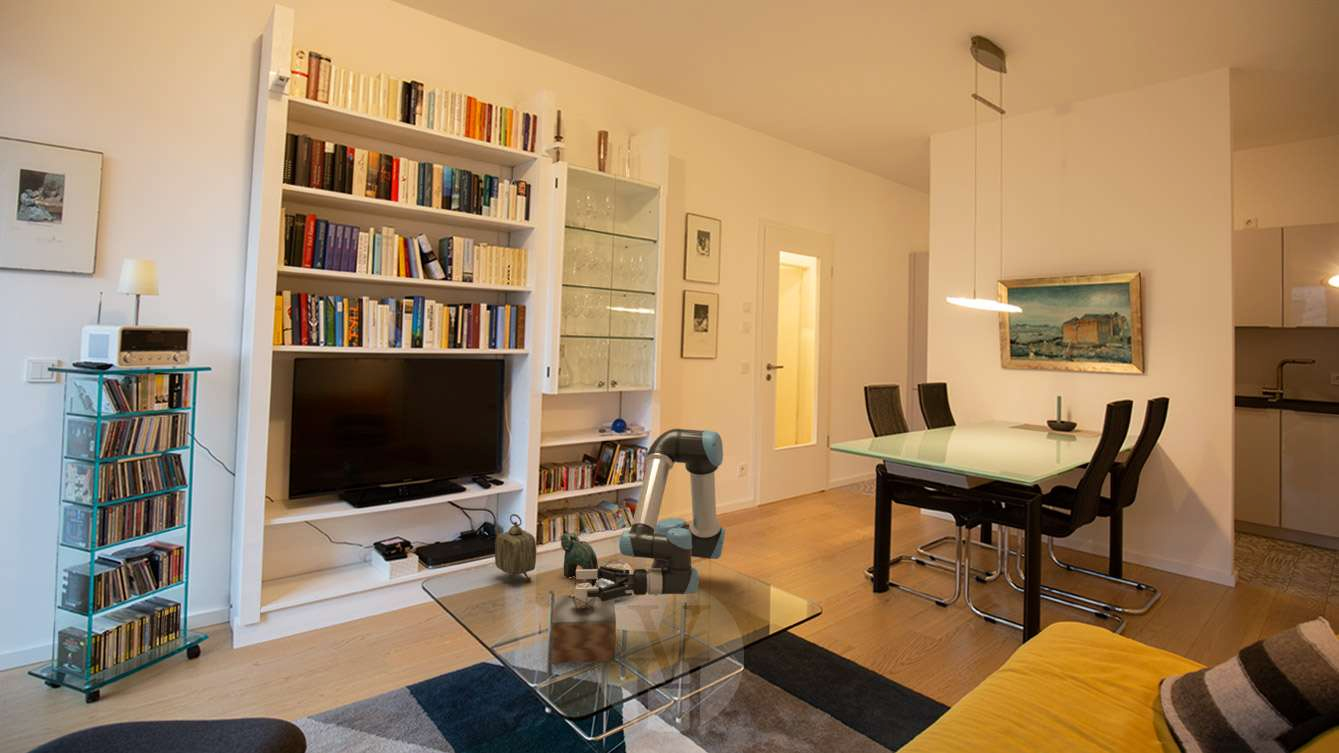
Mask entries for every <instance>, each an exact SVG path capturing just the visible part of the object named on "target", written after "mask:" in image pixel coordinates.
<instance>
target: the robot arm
mask: <svg viewBox="0 0 1339 753" xmlns="http://www.w3.org/2000/svg"><path fill="white" fill-rule="evenodd" d="M723 453H724V450H723V441H722V438H721V435H720V434H719V433H718V432H717V431H712V430H708V429H705V430H697V429H687V428H686V429H685V428H682V429H681V428H673V429H669V430H667V431H664V432H663V433H662V434H660V435H659V436H658V437H657V438H656V439H655V440H654V442H652V444H651V446H650V447H649V449H648V451H647V454H646V458H645V463H646V468H645V469H646V470H645V473H644V476H643V481H642V485H641V489H640V493H639V496H638V500H637V504H636V507H635V511H634V515H633V519H632V523H631V526H630V530H623V531H622V532H621V534H620V538H619V544H618V545H619V546H618V548H619V551H620V554H621V555H623V556H627V557H632V558H644V559H652V560H653V562H652V564H651V567H650V568H648V569H646V568H635V569H634V570H633V573H631V574H630V569H621V568H615V567H608V566H603V565H600V566H599V567H598V570H597V569H592V570H583V569H576V577H575V579H576V580H586V579H597V576H598V580H600V579H603V580H607V581H609V582H613V583H612V584H609V585H606V586H603V587H601V586H597V587H588V588H575V598H594V597H598V598H600V599H601V601H606V600H610V599H614V600H615V599H619V598H623V597H631V596H633V595H634V596H645V595H651V596H652V595H653V596H655V597H656V596H658V595H689V594H695V593H697V591H698V589H699V573H698V570H697V568H695V567H692V558H699V559H700V558H701V559H708V560H718V559H720V558H721V557H722V553H723V548H724V542H725V536H726V528H725V527H721V522H720V521H719V519H717V507H716V506H717V503H716V502H717V500H716V484H715V483H716V479H715V478H716V477H715V472H716V471H717V470H718V469H719V466H721V465H722V464H723V458H724V454H723ZM675 463H678V464H679V463H680V464H684V466H685V469H686V471H687V472H688V473H689V477H690V491H691V492H690V494H691V495H690V496H691V507H692V508H691V509H692V511H691V512H692V520H691V521H690V523H689V524H687V521H686V519H685V518H680V517H672V518H670V517H669V518H665V519H662V520H659V521H658V518H659V515H660V511H661V506H662V502H663V498H664V493H665V491H666V490H665V489H666V485H667V480H668V476H669V472H670V470H672V469H673V467H674V464H675Z"/></svg>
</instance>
